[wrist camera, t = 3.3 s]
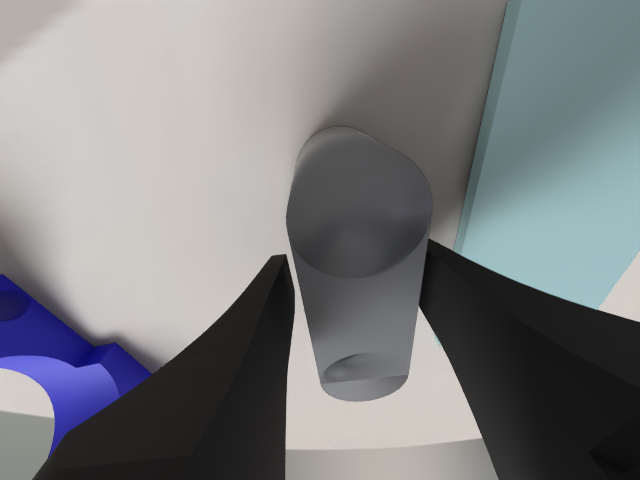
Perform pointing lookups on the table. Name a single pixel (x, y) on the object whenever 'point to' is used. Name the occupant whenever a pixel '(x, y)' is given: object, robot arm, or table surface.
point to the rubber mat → (559, 150)
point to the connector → (359, 258)
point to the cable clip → (62, 360)
